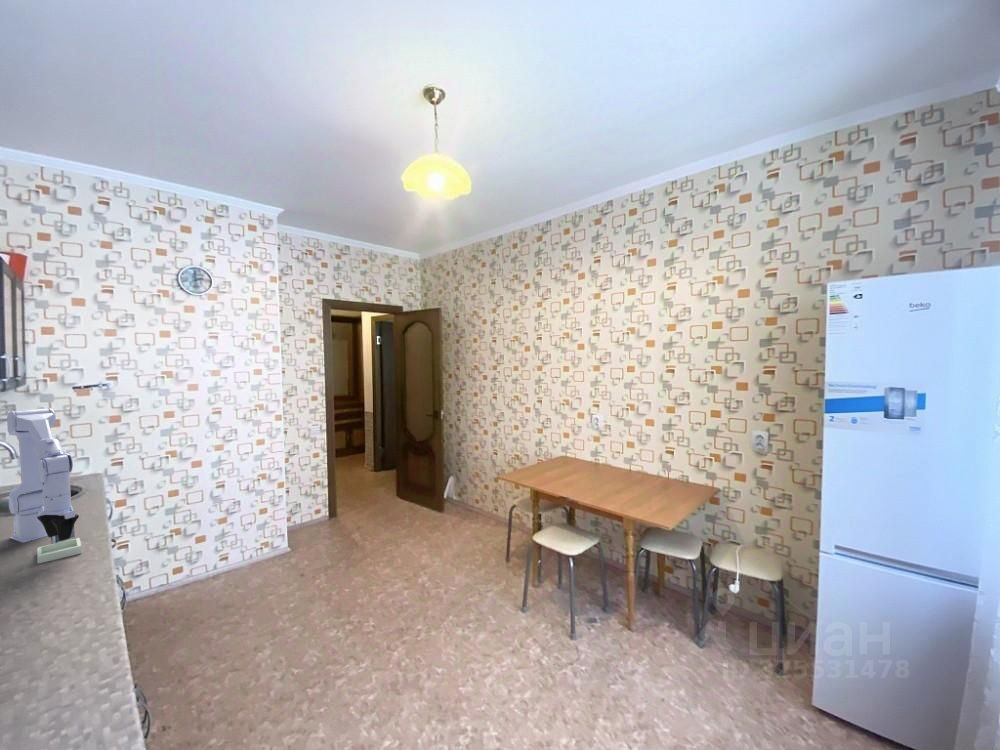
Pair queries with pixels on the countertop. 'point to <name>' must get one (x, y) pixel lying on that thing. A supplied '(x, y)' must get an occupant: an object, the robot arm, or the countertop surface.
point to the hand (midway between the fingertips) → (59, 537)
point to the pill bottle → (56, 540)
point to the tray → (59, 550)
